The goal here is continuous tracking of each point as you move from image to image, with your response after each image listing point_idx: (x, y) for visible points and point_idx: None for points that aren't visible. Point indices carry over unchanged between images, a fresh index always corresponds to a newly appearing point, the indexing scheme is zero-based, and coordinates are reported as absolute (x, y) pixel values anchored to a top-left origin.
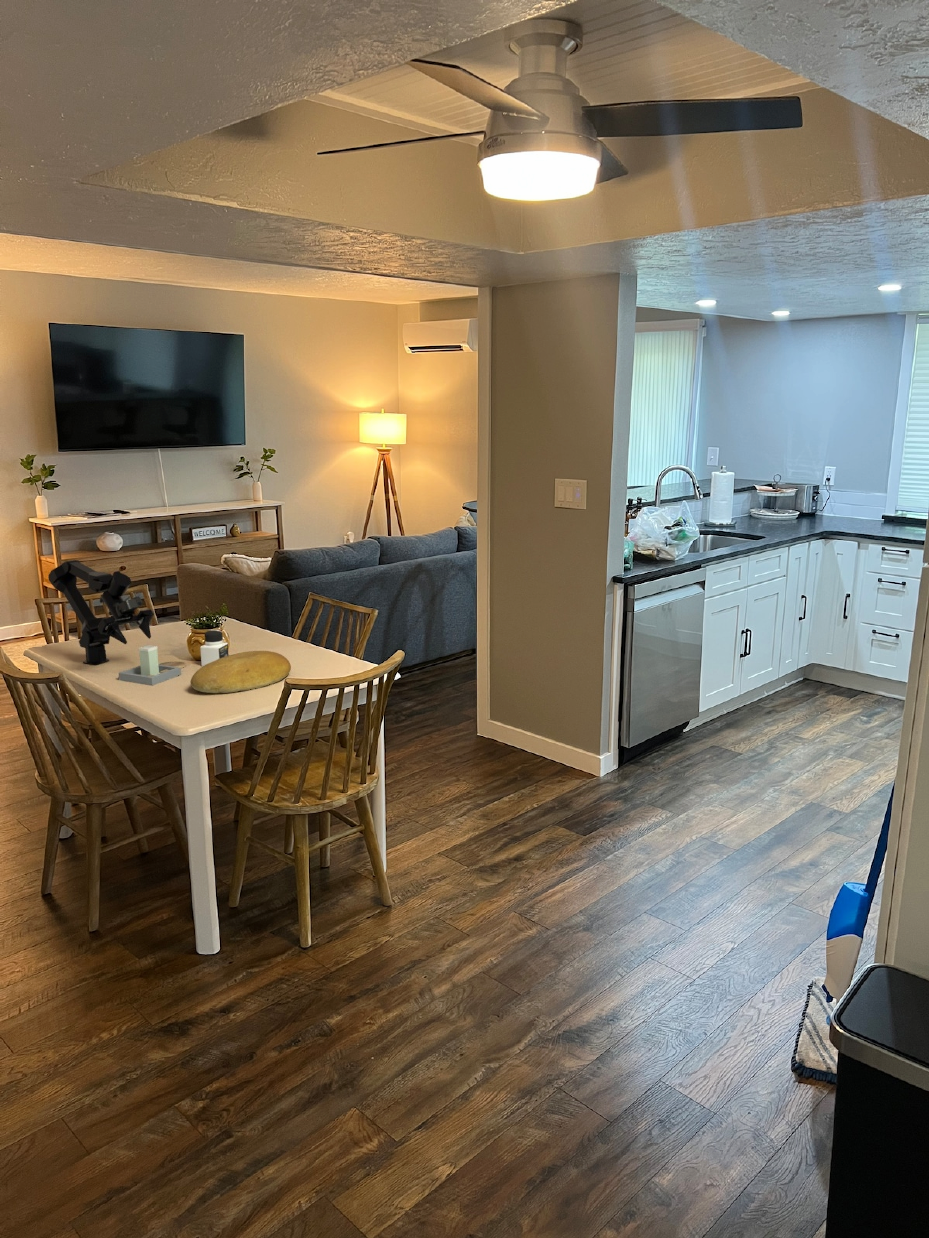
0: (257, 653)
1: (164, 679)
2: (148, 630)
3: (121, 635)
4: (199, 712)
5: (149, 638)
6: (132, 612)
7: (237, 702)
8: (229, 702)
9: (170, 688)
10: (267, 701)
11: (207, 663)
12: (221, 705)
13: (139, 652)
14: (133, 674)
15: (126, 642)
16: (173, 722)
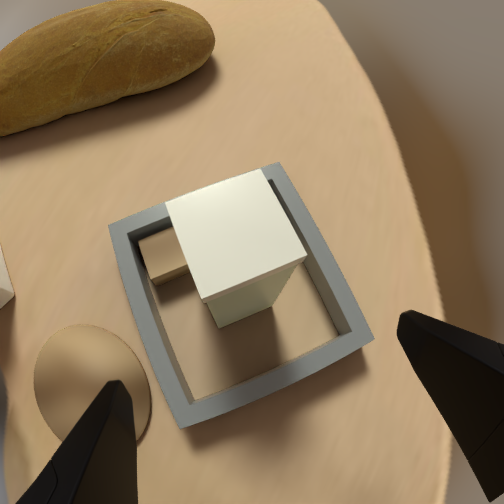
0: (31, 29)
1: None
2: (86, 435)
3: (478, 338)
4: (264, 8)
5: (128, 394)
6: None
7: None
8: None
9: (238, 120)
10: None
11: (2, 269)
12: (214, 11)
13: (295, 265)
14: (327, 263)
15: (407, 311)
16: (318, 8)
